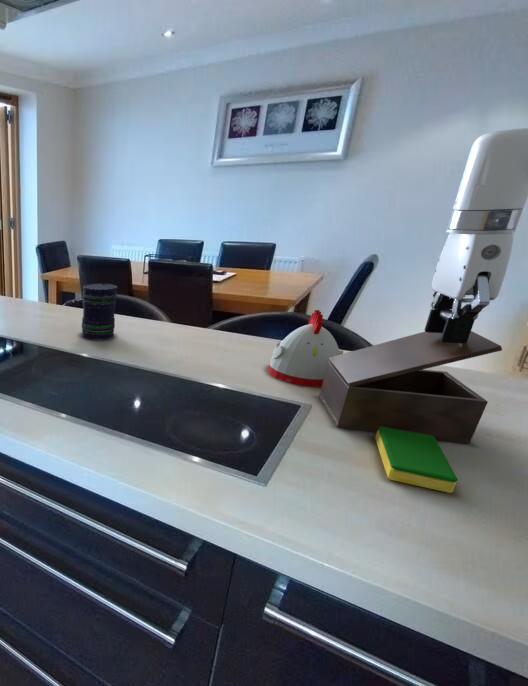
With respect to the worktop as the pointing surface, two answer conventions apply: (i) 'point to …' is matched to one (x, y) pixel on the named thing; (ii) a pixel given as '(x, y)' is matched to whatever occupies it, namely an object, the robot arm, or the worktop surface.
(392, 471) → the dish sponge
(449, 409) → the chest
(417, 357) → the lid
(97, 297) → the black striped canister
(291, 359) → the kitchen timer
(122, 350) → the worktop surface
